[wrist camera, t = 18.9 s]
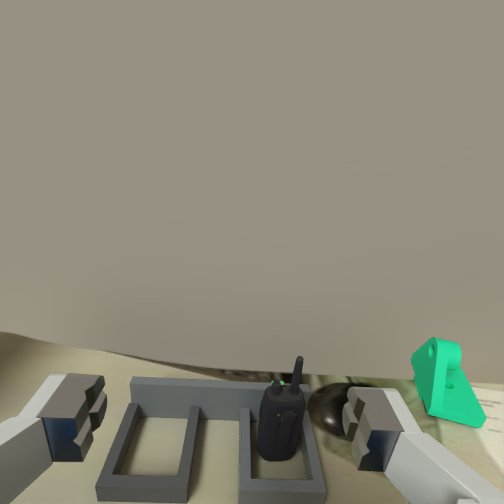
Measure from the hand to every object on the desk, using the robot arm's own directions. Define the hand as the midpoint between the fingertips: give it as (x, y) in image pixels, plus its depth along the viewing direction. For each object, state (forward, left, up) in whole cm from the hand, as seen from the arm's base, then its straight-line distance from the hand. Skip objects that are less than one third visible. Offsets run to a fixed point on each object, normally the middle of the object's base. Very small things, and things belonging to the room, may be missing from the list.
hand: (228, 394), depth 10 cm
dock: (0, +18, -30) cm, 35 cm away
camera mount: (+36, +29, -30) cm, 55 cm away
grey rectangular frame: (-8, +18, -30) cm, 36 cm away
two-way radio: (+7, +18, -30) cm, 36 cm away
